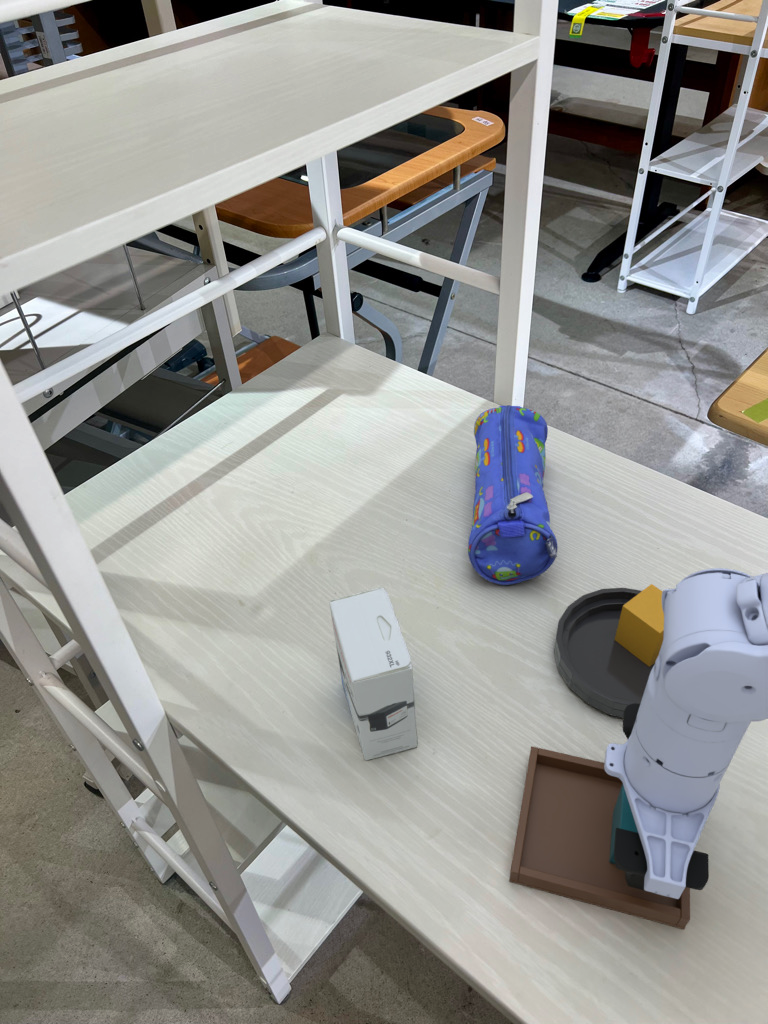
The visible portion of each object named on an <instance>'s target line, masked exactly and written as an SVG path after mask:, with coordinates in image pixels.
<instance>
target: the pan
mask: <svg viewBox="0 0 768 1024" xmlns="http://www.w3.org/2000/svg"><path fill="white" fill-rule="evenodd" d="M642 591H643V590H641V589H640V590H638V589H636V588H635V589H634V588H628V587H612V588H611V587H609V588H601V589H598V590H595V591H592V592H591V591H590V592H589V593H586V594H583V595H581V596H580V597H579V598H577V599H575V600H574V601H573V602H571V603H570V604H568V605H567V607H566V609H565V610H564V612H563V614H562V615H561V617H560V618H559V620H558V623H557V630H556V635H555V642H554V648H553V654H554V657H555V662H556V666H557V669H558V673H559V674H560V675H561V677H562V678H563V680H564V681H565V684H566V685H567V686H568V687H569V689H570V690H571V691H572V692H574V693H575V694H576V695H577V696H578V697H579V698H580V699H582V700H583V701H584V702H585V703H586V704H588V705H589V706H591V707H593V708H595V709H597V710H599V711H601V712H603V713H605V714H607V715H609V716H612V717H613V716H614V717H618V718H622V719H623V717H624V710H625V708H626V707H627V706H628V705H630V704H633V703H638V704H641V701H642V697H643V694H644V691H645V688H646V685H647V682H648V678H649V675H650V672H651V670H652V668H653V666H654V665H655V663H654V664H652V665H651V666H650V667H649V666H647V665H646V664H645V663H644V662H642V661H641V660H640V659H638V658H637V657H636V656H635V655H633V654H632V653H631V652H629V651H628V650H627V649H626V648H624V647H623V646H622V645H620V644H619V643H618V642H617V641H615V636H616V632H617V627H618V623H619V619H620V615H621V611H622V607H623V605H624V604H626V603H627V602H628V601H630V600H631V599H632V598H634V597H635V596H636V595H638V594H639V593H640V592H642Z"/></svg>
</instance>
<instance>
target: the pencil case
mask: <svg viewBox="0 0 768 1024" xmlns="http://www.w3.org/2000/svg"><path fill="white" fill-rule="evenodd" d="M546 421H547V420H546V419H545V418H544V417H543V415H541V414H540V413H539V412H538V411H535V410H533V409H530V408H527V407H522V406H520V405H499V407H492V408H489V409H486V410H484V411H483V412H481V413H480V414H479V415H478V416H477V417H476V419H475V421H474V424H473V435H474V439H475V444H476V452H475V462H474V463H475V464H474V475H475V477H474V479H475V480H474V490H475V491H474V499H473V507H472V522H471V529H470V532H469V536H468V545H467V555H468V559H469V563H470V564H471V566H472V568H473V570H474V571H475V572H476V573H477V574H478V575H479V576H480V577H481V578H483V579H484V580H486V581H488V582H490V583H492V584H497V585H500V586H510V585H516V584H519V583H522V582H525V581H529V580H532V579H535V578H537V577H538V576H541V575H542V574H544V573H546V572H547V571H548V570H549V569H550V568H551V566H552V565H553V564H554V562H555V560H556V559H557V557H558V541H557V538H556V535H555V533H554V532H553V530H552V528H551V518H550V511H549V508H548V503H547V500H546V496H545V492H544V476H545V470H546V460H547V459H546V458H547V457H546V442H547V439H548V434H549V432H548V431H549V428H548V423H547V422H546Z"/></svg>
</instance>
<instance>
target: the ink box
mask: <svg viewBox="0 0 768 1024" xmlns="http://www.w3.org/2000/svg"><path fill="white" fill-rule="evenodd" d="M328 603H329V611H330V617H331V622H332V630H333V634H334V641H335V647H336V653H337V659H338V664H339V665H338V666H339V672H340V677H341V684H342V687H343V690H344V694H345V697H346V701H347V704H348V707H349V711H350V715H351V719H352V722H353V725H354V728H355V731H356V735H357V738H358V742H359V745H360V749H361V752H362V756H363V758H364V760H365V761H370V760H373V759H377V758H381V757H385V756H388V755H392V754H396V753H400V752H404V751H407V750H409V749H414V748H417V747H418V744H419V743H418V733H417V731H418V730H417V718H416V716H417V715H416V705H415V704H416V703H415V689H414V688H415V687H414V673H413V664H412V661H411V660H412V658H411V655H410V652H409V649H408V647H407V643H406V640H405V638H404V635H403V633H402V630H401V626H400V624H399V621H398V618H397V616H396V613H395V610H394V607H393V604H392V601H391V599H390V595H389V592H388V591H387V590H385V588H384V587H381V586H380V587H376V588H372V589H368V590H364V591H360V592H357V593H353V594H349V595H345V596H342V597H341V596H340V597H338V598H334V599H331V600H329V602H328Z"/></svg>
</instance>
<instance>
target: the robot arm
mask: <svg viewBox="0 0 768 1024" xmlns="http://www.w3.org/2000/svg"><path fill="white" fill-rule="evenodd" d="M662 591H663V592H662V609H663V613H664V636H663V643H662V646H661V649H660V652H659V655H658V657H657V659H656V661H655V665H654V666H653V668H652V670H651V672H650V675H649V678H648V682H647V685H646V688H645V691H644V694H643V697H642V701H641V704H638V703H633V704H630V705H628V706H627V707H626V708H625V710H624V717H623V718H622V732H623V733H624V736H625V737H626V742H625V743H621V744H619V743H614V742H613V743H612V742H610V743H609V744H608V745H607V746H606V749H605V753H604V763H605V764H604V769H605V772H606V773H607V774H609V775H611V776H614V777H618V778H619V779H620V780H621V781H622V783H623V786H624V789H625V792H626V795H627V798H628V801H629V805H630V808H631V811H632V814H633V817H634V820H635V824H636V827H637V830H638V833H637V832H633V831H629V830H624V829H620V828H616V830H615V843H614V860H615V865H616V867H617V869H619V870H623V871H625V879H626V882H627V885H628V886H629V887H633V888H637V889H641V890H644V891H648V892H652V893H656V894H659V895H663V896H667V897H671V898H675V899H679V898H680V896H681V894H682V892H683V890H684V889H685V887H687V888H690V890H691V889H692V890H695V891H702V890H703V889H705V887H706V885H707V883H708V881H709V876H710V875H709V873H710V872H709V871H710V869H709V867H710V866H709V864H710V863H709V854H708V853H706V852H702V851H698V850H695V848H696V846H697V844H698V841H699V839H700V837H701V835H702V832H703V830H704V828H705V825H706V823H707V821H708V819H709V816H710V814H711V812H712V810H713V807H714V805H715V802H716V801H717V798H718V795H719V793H720V788H721V782H722V779H723V778H724V775H725V774H726V773H727V769H728V768H729V766H730V764H731V762H732V760H733V758H734V756H735V754H736V752H737V750H738V749H739V746H740V744H741V742H742V740H743V738H744V736H745V734H746V732H747V731H748V728H749V727H750V725H751V723H752V722H762V721H765V720H768V572H765V573H761V574H758V575H757V574H756V575H753V576H752V575H751V574H748V573H746V572H744V571H740V570H737V569H730V568H724V567H715V568H706V569H702V570H698V571H695V572H693V573H690V574H689V575H687V576H685V577H684V578H683V579H681V581H679V582H678V583H677V584H676V585H675V588H664V589H663V590H662Z"/></svg>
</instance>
